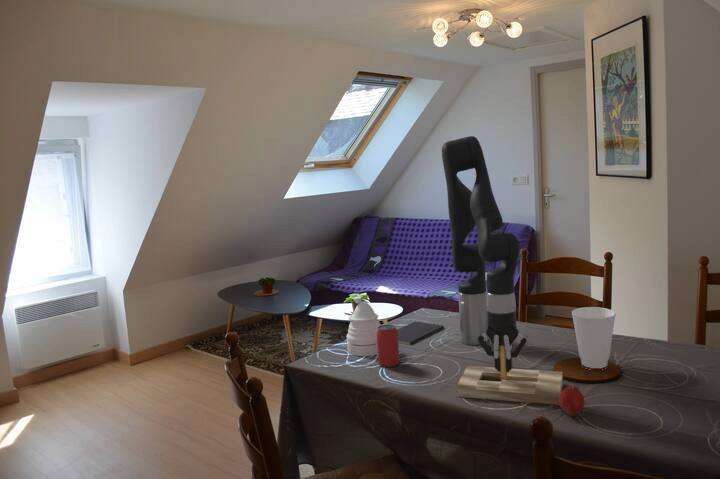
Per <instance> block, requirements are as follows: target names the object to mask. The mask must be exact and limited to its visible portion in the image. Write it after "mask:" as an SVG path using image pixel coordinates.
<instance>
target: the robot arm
mask: <svg viewBox="0 0 720 479" xmlns="http://www.w3.org/2000/svg"><path fill="white" fill-rule="evenodd" d="M441 158H442V165H443V170H444V176H445V181H446V182H445V183H446V191H447V207H448V208H447V209H448V219H449V224H450V231H451V255H452V259H451V260H452V266H453V269H454V270H455V271H456V272H459V273H475V274H474V275H473V276H472V277H470V278H468V279H465V280H463V281H461V282H459V283H458V287H457V290H458V293H457V294H458V308H459V312H458V313H459V330H460V331H459V333H460V342H461V343H462V344H464V345H471V346H478V345H480V346H481V347H482V349H484V352H485V353H486V355H487V356H488V357H492V358H493V359H494V368H495V369H497V371H498V372H500V352H499V346H505V351H506V372H509V371H510V370H511V369H513V358H517V357H518V356H519V355H520V353H521V351H522V350H523V348H524V346H525V345H526V344H527V341H528V336H527V335H523V334H521V333H519V329H518V328H517V304H516V302H517V301H516V295H515V274H516V273H515V272H516V268H517V265H518V264H517V263H518V260H519V256H520V251H521V247H520V246H521V245H520V242H519V239H518V237H517V236H516V235H515V234H514V233H511V232H506V233H503V232H502V233H495V234H492V233H493V232H496V231H498V230H499V229H500V228H501V227H502V226H503V217H502V214H501V212H500V208H499V206H498V204H497V201H496V198H495V196H494V192H493V190H492V189H493V188H492V185H491V180H490V176H489V171H488V167H487V162H486V159H485V155H484V152H483V149H482V146H481V143H480V141H479V139H478V138H477V137H476V136H473V135H471V136H470V135H469V136H466V137H465V136H464V137H460V138H457V139H451V140H449V141H446V142H444V143H443V145H442V146H441ZM472 169H474V170H475V180H474V184H473V187H472V190H471V189H470V188H468V187H467V186H466V185H465V184H464V183H463V182H462V181H461V179H460V178H459V176H458V173H459V172H464V171H468V170H472ZM475 227H476V231H477V232H476V233H477V243H469V244H465V243H464V242H465V240H466V239H467V237H468V236H469V235H470V234H471V233H472V231H473V230H474V229H475ZM492 262H493V263H494V262H501V263H500V264H499V266H497V267H496V268H494V269H490V270H488V271H487V273H486V263H492ZM516 339H517V343H518V344H517V346H516V348H515V350H513V349H512V348H513V347H512V344H513V343H514V342H515V340H516ZM489 340H490V341H491V343H492V344H493V347H492V346H491V345H490V343H489Z"/></svg>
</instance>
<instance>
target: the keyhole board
mask: <svg viewBox="0 0 720 479" xmlns="http://www.w3.org/2000/svg"><path fill="white" fill-rule="evenodd" d="M563 373H564V372H563V371H553V370H538V369H536V370H535V369H520V368H519V369H518V368H512V369H511V370H510V371H509V372H507V380H502V381H501V377H500V372H498V371H497V369H495V367H488V366H473V365H471V366H470V365H467V366H466V368H465V369H464V371H463V374H462V375H461V376H460V378H459V380H458V382H457V385H456V388H457V391H456V392H457V397H458V398H468V399H469V398H470V399H483V400H494V401H496V400H498V401H508V402H509V401H510V402H519V403H531V404H544V405H545V404H546V405H557V406H560V403H559V396H560V394H561V392H562V391H563V384H564V381H563V380H564V377H563V376H564V375H563Z"/></svg>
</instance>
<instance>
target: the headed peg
mask: <svg viewBox="0 0 720 479" xmlns="http://www.w3.org/2000/svg"><path fill="white" fill-rule="evenodd" d="M499 352H500V377H501V381H502V380H507V372H506V351H505V346H499ZM501 381H500V382H501Z"/></svg>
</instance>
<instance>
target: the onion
mask: <svg viewBox="0 0 720 479" xmlns="http://www.w3.org/2000/svg"><path fill="white" fill-rule="evenodd" d="M559 403H560V405H559V406H560V408H561V409H562V411H564V412H565V413H566V414H568V415H569V416H571V417H574V416H575V415H577V414H578V413H579V412H581V411H582V410H583V409H584V407H585V398H584V395H583V393H582V391H581V390H579V389H578V388H577V387H575V386H574V384H572V383H569V385H568V386H567V387H565V388H564V389H562V392H561V394H560V396H559Z"/></svg>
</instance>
